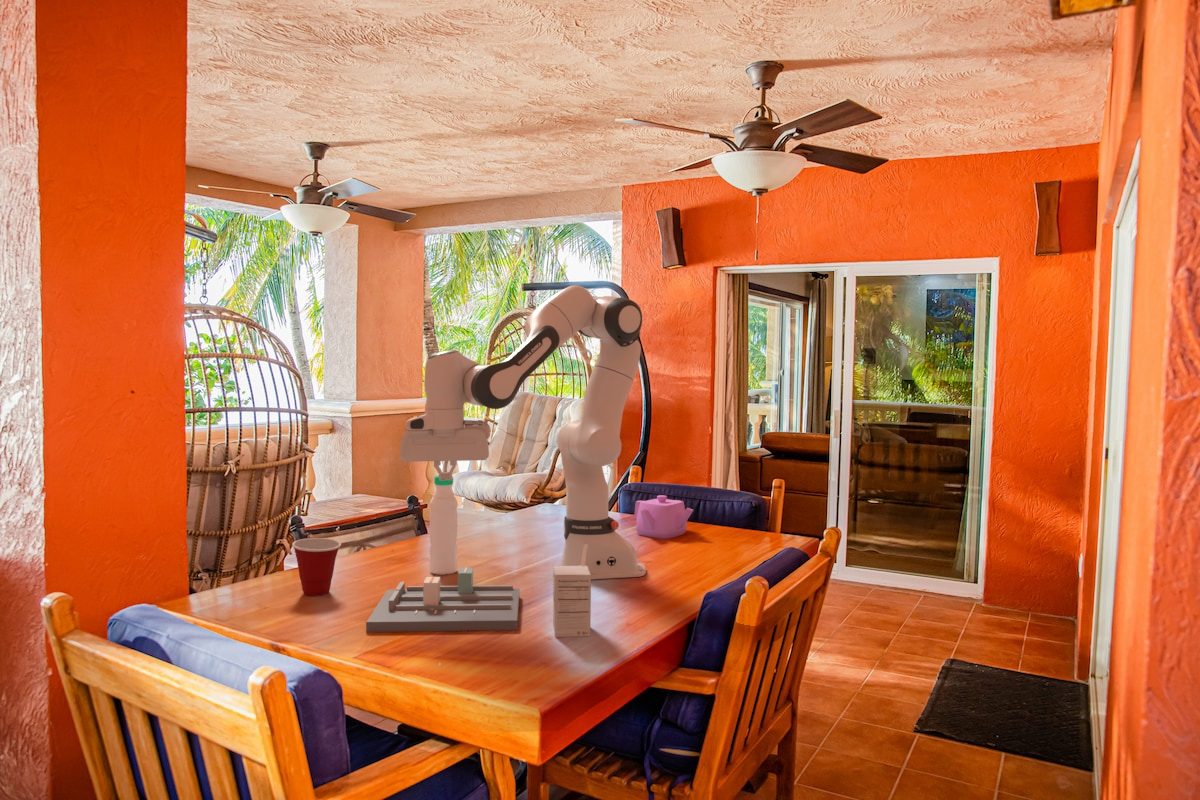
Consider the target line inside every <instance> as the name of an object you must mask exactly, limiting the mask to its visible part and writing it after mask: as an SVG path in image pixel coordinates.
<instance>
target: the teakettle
mask: <svg viewBox="0 0 1200 800" xmlns="http://www.w3.org/2000/svg"><path fill="white" fill-rule="evenodd" d="M634 503H635V506H634V517H633V518H634V519H636V523H635V528H636V533H637V535H638V536H642V537H647V538H654V539H655V538H656V539H661V540H667V539H672V538H677V537H679V536H681V535H684V534H685V533H686V530H687V526H688V524H687V523H688V519H689V518H690V516H691V515H692V513H693V512H694V509H692V508H690V507H687V508H686V507H685V504H684V501H683V500H679V499H678V500H677V499H669V498H668V495H663V494H662V495H661V494H659V495H657V496H656V498H652V499H648V500H637V501H635V502H634Z"/></svg>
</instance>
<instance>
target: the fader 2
mask: <svg viewBox="0 0 1200 800" xmlns="http://www.w3.org/2000/svg"><path fill="white" fill-rule="evenodd" d="M457 586H458V594H472V592H473V586H474V567H468V566H466V567H459V570H458V573H457Z"/></svg>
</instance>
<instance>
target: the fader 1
mask: <svg viewBox="0 0 1200 800" xmlns="http://www.w3.org/2000/svg"><path fill="white" fill-rule="evenodd" d="M422 584H423V585H422V586H423V605H438V604H439V601H440V586H441V576H426V577H425V579H424V581H423V583H422Z"/></svg>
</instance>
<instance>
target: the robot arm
mask: <svg viewBox="0 0 1200 800" xmlns="http://www.w3.org/2000/svg"><path fill="white" fill-rule="evenodd" d="M642 325H643V313H642V309H641V307H640V305H639V304H638V303H637V302H635V301H633V300H632V299H629V298H627V297H617V296H612V295H611V296H610V295H609V296H608V295H605V296H596V297H595V296H593V295H592V294H591V292H590V291H589V290H588V289H586V288H585V287H583V286H581V285H577V284H572V285H569V286H567V287H565V288H563V289H561V290H560V291H558V292H557V293H555V294H553V295H552V296H550V297H549V298H547V299H546V300H545V301H544V302H542V303H541V304H539V305H538V306H537V307H535V309H534V310H533V311H532V312H531V313H530V314H529V316H528V317H527V318H526V319H525V323H524V330H525V335H526V337H527V339H526V340H525V341H524V342H523V343H522V344H521V345H520V346H519V347H518V348H517V349H516V350H515V351H513V352H512V353H511V354H510V355H508V357H507V358H505V359H504V360H502V361H500V362H497V363H493V364H482V363H480V362H476V361H475V360H473V359H471V358H468V357H467V356H466V355H463V354H462V353H461V352H460V351H459V350H455V349H449V350H443V351H438V352H433V353H431V354H430V355H429V356H428V357H427V359H426V362H425V366H424V393H425V396H426V400H425V401H426V402H425V405H424V414H419V415H417V416H415V417H412V418H409V419H407V420H406V421H405V422H404V424H405V426H404V428H405V429H406V431H405V432H404V433H403V434H402V437H401V439H400V440H401V441H400V447H399V449H400V450H399V452H400V453H399V458H400V460H402V462H403V463H405V462H407V463H409V462H411V463H412V462H413V463H414V462H420V463H421V462H433V467H434V468H435V470H436V472H437V474H438V475H439V481H444V480H452V477H453V472H454V470H455V469H456V466H457V464H458V462H460V461H461V462H462V461H486V460H487V459H488V458H489V456H490V449H489V440H488V439H490V437H491V427H490V425H489V423H488V422H486V421H484V420H479V419H477V420H471V419H470V420H468V419H467V420H465V418H464V417H465V412H464V411H465V410H464V409H465V408H464V405H465V404H466V403H468V404H471V405H475V406H481V407H485V408H488V409H493V410H498V409H499V410H500V409H502V408H506V407H507V406H509V405H510V404H511V403H512V402H513V401H514V399H515V398H516V396H517V394H518V392H519V390H520V388H521V386H522V384H523V383H524V382H525V381H526V379H528V378H529V376H530V375H532V374H533V372H534V371H535V370H537V369H538V367H539V366H541V365H542V364H543V363H544V362H545V361H546V360H547V359H548V358H549V357H550V356H551V355H552V354H553V353H554V352H555V351H556V350H557V349H559V348H560V347H561V346H563V345H564V344H565V343H567V341H570V339H572V337H573V336H575V335H576V334H577V333H579V334H581V335H582V336H585V337H588V338H594V339H598V340H599V343H600V346H599V347H600V348H599V353H598V356H597V357H596V361H595V363H594V366H593V369H592V371H591V373H590V376H589V379H588V382H587V385H586V387H585V390H584V393H583V399H584V406H583V412H582V418H581V419H580V420H574V421H570V422H568V423H565V424H564V425H563V426H561V428H560V430H559V431H558V433H557V438H556V443H557V447H558V449H559V452H560V457H561V462H562V469H563V474H564V481H565V494H566V496H565V516H564V520H563V538H564V547H563V552H562V553H563V554H562V556H561V561H560V562H561V563H560V565H559V566H588V568H589V571H590V574H591V580H605V579H606V580H607V579H619V578H620V579H621V578H637V577H639V578H640V577H642V576H645V574H646V573H647V571H646V570H647V569H646V567H645V565H644V563H642V562H639V561H638V557H637V556H638V555H637V551H636V549H635V547H634V546H633V544H632V543H631V542H629V541H628V540H627V539H626V538H624V537H623V536H622V535H621V534H620V533H619V532H617V530H618V528H620V524H619V522H618V521H617V520H615V519H614V518H613V517H610V516H609V498H610V497H609V495H610V493H609V485H608V483H607V481H606V478H605V474H604V468H603V467H605V466H609V465H612V464H613V463H614V462H615V461H617V459H618V458H619V456H620V455H621V451H622V440H621V438H620V437H621V427H622V420H623V419H622V418H623V413H624V410H625V405H626V402H627V400H628V397H629V394H630V391H631V389H632V386H633V384H634V383H633V382H634V380H635V377H636V374H637V370H638V367H639V363H640V357H641V350H642V347H641V344H640V342H639V340H638V338H639V337H640V334H641V329H642ZM442 462H449V465H450V466H452V467H451V468H450V470H449V471H443V470H442V469H441V468H440V466H441V464H442Z"/></svg>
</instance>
